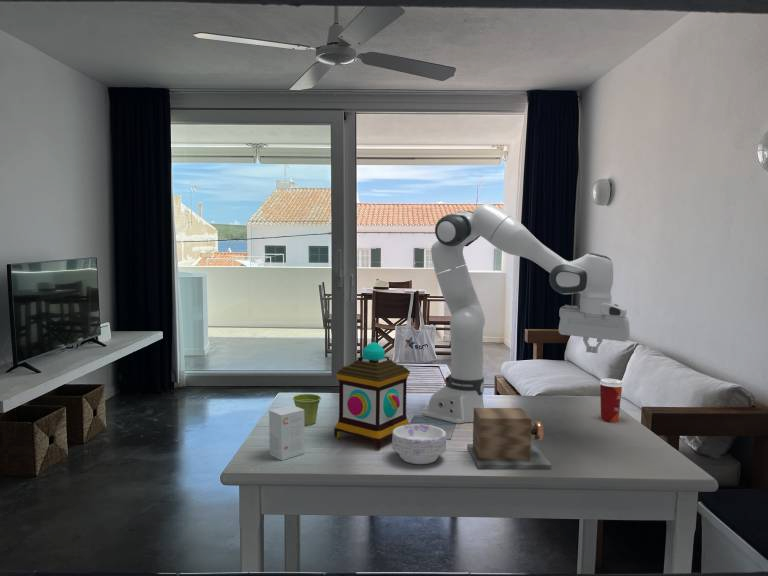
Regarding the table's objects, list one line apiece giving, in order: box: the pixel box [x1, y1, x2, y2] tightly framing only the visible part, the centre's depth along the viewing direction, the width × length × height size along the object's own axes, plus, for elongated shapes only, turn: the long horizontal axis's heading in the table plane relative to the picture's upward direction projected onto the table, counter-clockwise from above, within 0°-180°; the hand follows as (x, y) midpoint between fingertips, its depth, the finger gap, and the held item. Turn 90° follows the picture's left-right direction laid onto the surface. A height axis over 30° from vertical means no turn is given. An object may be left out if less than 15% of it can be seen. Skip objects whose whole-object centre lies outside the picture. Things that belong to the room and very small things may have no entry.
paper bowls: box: [391, 423, 447, 465], centre depth 157 cm, size 15×15×8 cm
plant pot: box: [292, 393, 322, 426], centre depth 188 cm, size 9×9×9 cm
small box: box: [268, 405, 306, 461], centre depth 159 cm, size 8×6×13 cm
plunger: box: [531, 420, 545, 441], centre depth 158 cm, size 17×6×5 cm, turn 92°
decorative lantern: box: [333, 341, 411, 451], centre depth 174 cm, size 20×20×30 cm
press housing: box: [466, 407, 553, 470], centre depth 158 cm, size 20×16×13 cm
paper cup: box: [599, 377, 624, 423], centre depth 195 cm, size 8×8×14 cm
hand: (591, 352), depth 170 cm, fingers closed
